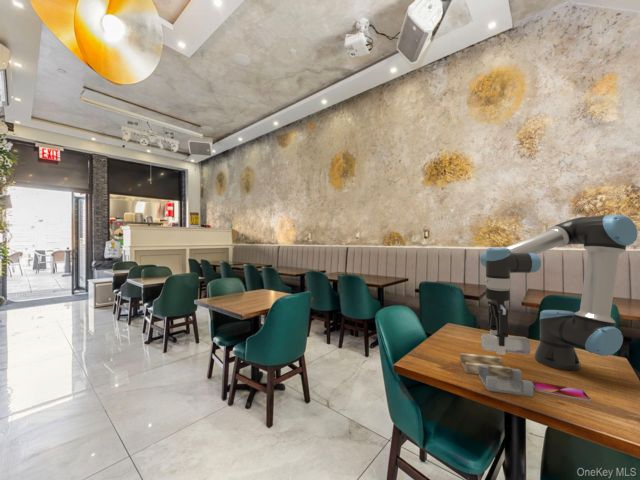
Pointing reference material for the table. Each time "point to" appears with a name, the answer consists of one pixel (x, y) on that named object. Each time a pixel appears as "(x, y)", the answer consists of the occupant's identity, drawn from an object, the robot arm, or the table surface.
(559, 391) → the smartphone
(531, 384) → the cradle
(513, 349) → the axle
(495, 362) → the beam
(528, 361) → the table surface
